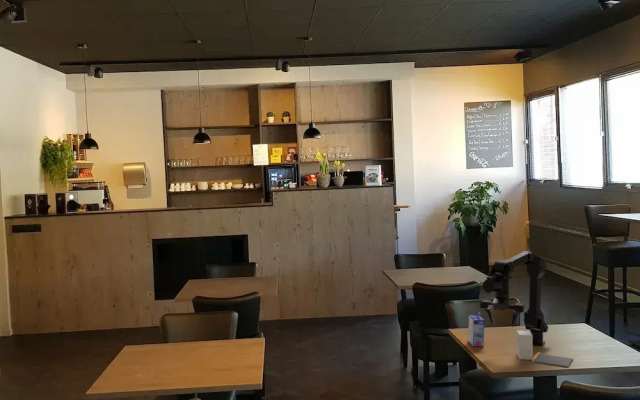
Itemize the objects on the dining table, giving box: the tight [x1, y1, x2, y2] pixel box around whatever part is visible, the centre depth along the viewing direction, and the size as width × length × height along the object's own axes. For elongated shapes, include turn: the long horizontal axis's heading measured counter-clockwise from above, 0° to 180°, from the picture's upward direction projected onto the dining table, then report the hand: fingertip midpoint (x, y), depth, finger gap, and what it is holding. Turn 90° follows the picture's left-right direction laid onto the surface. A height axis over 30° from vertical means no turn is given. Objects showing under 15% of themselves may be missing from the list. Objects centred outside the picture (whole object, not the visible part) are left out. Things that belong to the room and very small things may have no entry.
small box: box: [516, 330, 534, 361], centre depth 255 cm, size 8×6×10 cm
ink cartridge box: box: [467, 311, 485, 347], centre depth 276 cm, size 10×6×14 cm, turn 178°
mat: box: [531, 351, 574, 368], centre depth 249 cm, size 12×14×1 cm
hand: (502, 325), depth 259 cm, fingers open, 8 cm apart
